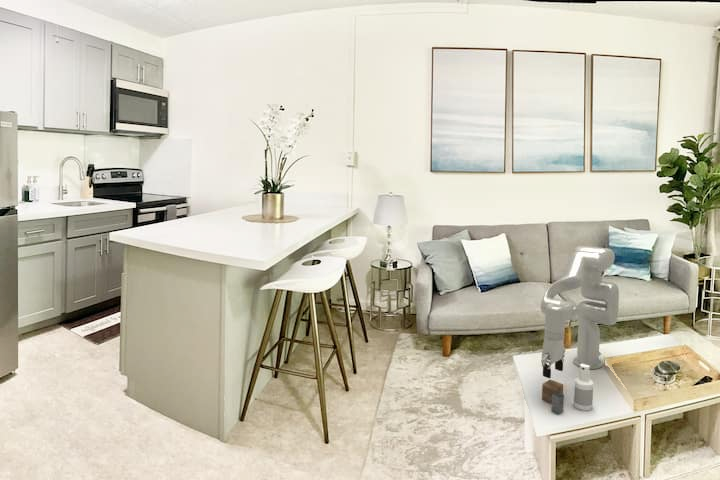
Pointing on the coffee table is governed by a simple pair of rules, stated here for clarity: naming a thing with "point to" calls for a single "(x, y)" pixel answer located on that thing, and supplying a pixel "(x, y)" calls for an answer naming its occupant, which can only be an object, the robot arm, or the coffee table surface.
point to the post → (557, 402)
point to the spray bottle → (583, 389)
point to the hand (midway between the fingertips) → (552, 373)
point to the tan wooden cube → (550, 390)
